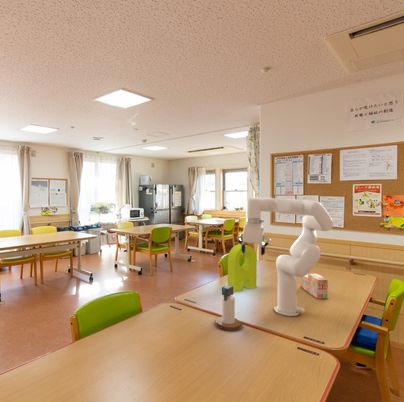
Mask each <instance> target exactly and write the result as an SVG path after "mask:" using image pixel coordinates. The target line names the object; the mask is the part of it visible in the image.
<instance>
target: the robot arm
mask: <svg viewBox="0 0 404 402" xmlns="http://www.w3.org/2000/svg"><path fill="white" fill-rule="evenodd" d="M262 212H268V213H269V212H271V213H277V214H285V215H295V216H296V215H298V216H303V218H302V220H301V223H302V224H301V225H302V232H301V235H300V236H299V237H298V238H297V239H296V240H295V242H294V243H293V244H292V245H291V246H290V249H289V254H281V255H279V256H278V257H277V258H276V259H275V267H276V272H277V273H276V274H277V301H276V303H277V304H276V305H275V306H274V307H273V309H274V312H276V313H277V314H279V315H281V316H285V317H286V316H287V317H296V316H298V315H299V314H300V313H303V314H305V313H306V308H304V307H302V306H298V303H297V284H298V283H297V278H301V277H303V276H305V275H306V274H309V273H310V271H311V270H312V269H313V268H314V267H315V266H316V264H317V263H318V262H319V261H320V258H321V255H322V254H321V249H320V247H319V246H318V245H316V244H317V242H318V236H317V231H320V232H328V231H330V230H332V229H333V227H334V220H333V218H332V217H331V215H330V213H329V212H328V211H327V209H326V208H325V207H324V205H323V204H321V202H320V201H318V200H315V199H314V200H311V199H299V198H289V197H286V198H285V197H281V198H279V197H277V198H275V197H268V196H256V197H248V198H246V200H245V223H244V224H243V229H242V230H243V232H242V234H240V235H237V236H236V240H237V242H238V244H241V245H242V253H243V254H245V245H246V244H247V243H248V244H257V245H260V246H261V248H260V255H261V256H264V255H265V254H266V247H268V245H269V244H270V242H271V241H272V239H271V238H270V237H268V236H266V235H265V230H264V224H262V223H264V222H265V219H263V218H262ZM241 238H242V239H241ZM265 241H266V242H265Z"/></svg>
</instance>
